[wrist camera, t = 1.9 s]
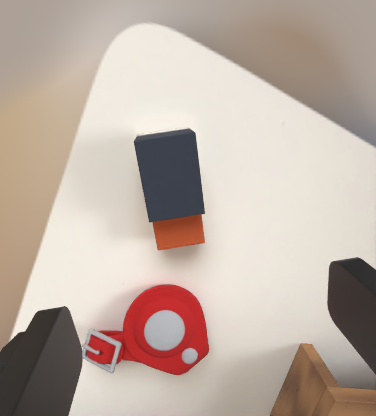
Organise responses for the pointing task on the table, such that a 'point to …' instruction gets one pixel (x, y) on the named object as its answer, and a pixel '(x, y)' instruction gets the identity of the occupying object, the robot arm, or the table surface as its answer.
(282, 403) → the shoe shelf
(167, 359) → the tracker holder
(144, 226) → the table surface
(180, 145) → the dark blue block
